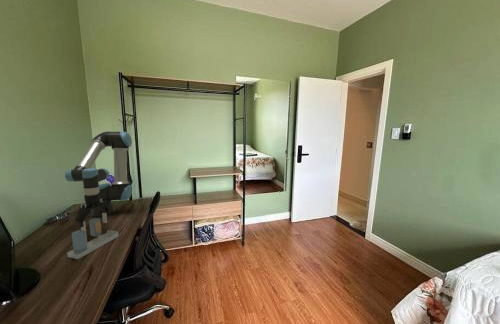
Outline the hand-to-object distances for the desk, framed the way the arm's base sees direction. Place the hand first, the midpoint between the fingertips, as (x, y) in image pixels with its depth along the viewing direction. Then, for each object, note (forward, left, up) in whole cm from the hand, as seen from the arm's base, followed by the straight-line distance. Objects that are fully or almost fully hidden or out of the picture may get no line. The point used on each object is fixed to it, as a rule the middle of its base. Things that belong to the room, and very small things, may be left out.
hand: (94, 226), depth 128 cm
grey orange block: (0, 0, -5) cm, 5 cm away
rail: (+10, +12, -5) cm, 16 cm away
